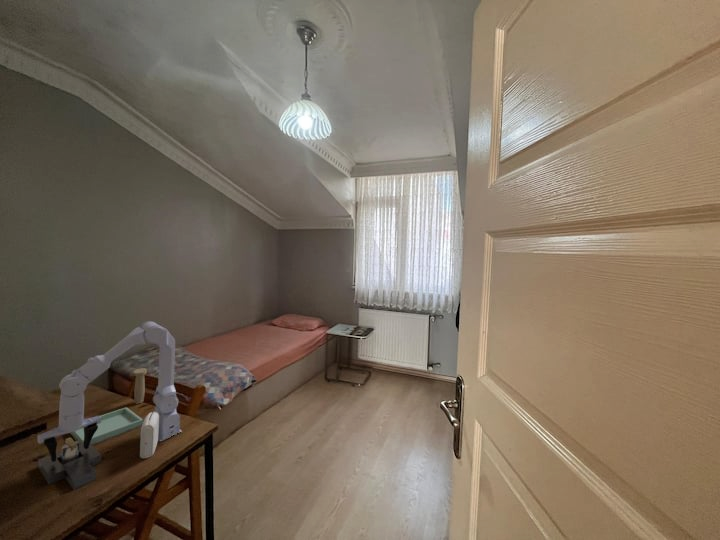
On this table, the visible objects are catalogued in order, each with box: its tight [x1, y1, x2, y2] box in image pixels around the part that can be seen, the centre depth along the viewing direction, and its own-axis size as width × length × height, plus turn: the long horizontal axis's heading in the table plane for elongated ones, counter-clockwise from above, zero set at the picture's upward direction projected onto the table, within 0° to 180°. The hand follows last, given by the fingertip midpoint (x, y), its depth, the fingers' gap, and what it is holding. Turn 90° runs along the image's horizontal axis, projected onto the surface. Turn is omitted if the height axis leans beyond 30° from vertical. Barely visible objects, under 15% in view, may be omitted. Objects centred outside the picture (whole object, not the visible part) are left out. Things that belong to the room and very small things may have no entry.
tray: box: [69, 406, 144, 446], centre depth 114 cm, size 16×18×2 cm
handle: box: [133, 367, 148, 405], centre depth 135 cm, size 5×6×15 cm
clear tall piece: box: [61, 436, 79, 465], centre depth 94 cm, size 6×4×8 cm, turn 58°
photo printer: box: [139, 411, 159, 459], centre depth 104 cm, size 10×4×12 cm, turn 25°
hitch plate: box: [37, 443, 102, 490], centre depth 92 cm, size 20×12×2 cm, turn 58°
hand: (70, 453), depth 94 cm, fingers open, 7 cm apart
